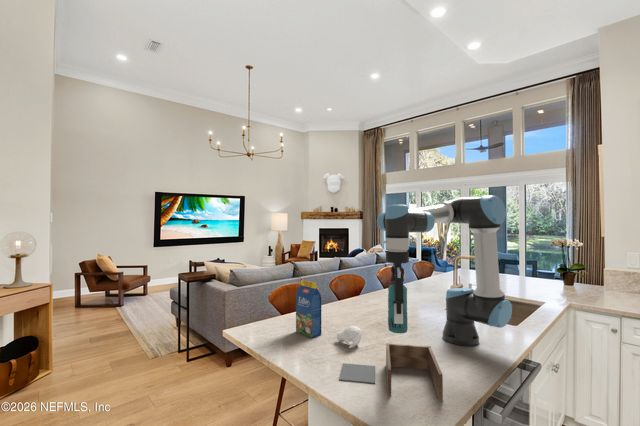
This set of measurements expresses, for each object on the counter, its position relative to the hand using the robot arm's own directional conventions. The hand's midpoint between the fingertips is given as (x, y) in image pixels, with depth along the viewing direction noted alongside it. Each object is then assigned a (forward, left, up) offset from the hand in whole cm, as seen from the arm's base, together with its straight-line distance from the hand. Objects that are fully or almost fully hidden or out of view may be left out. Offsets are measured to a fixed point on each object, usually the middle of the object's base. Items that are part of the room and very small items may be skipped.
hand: (397, 319), depth 102 cm
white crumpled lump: (+20, -30, -21) cm, 41 cm away
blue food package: (+40, -40, -21) cm, 60 cm away
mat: (+14, -5, -21) cm, 25 cm away
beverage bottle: (0, 0, -5) cm, 5 cm away
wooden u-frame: (-4, -3, -21) cm, 22 cm away
